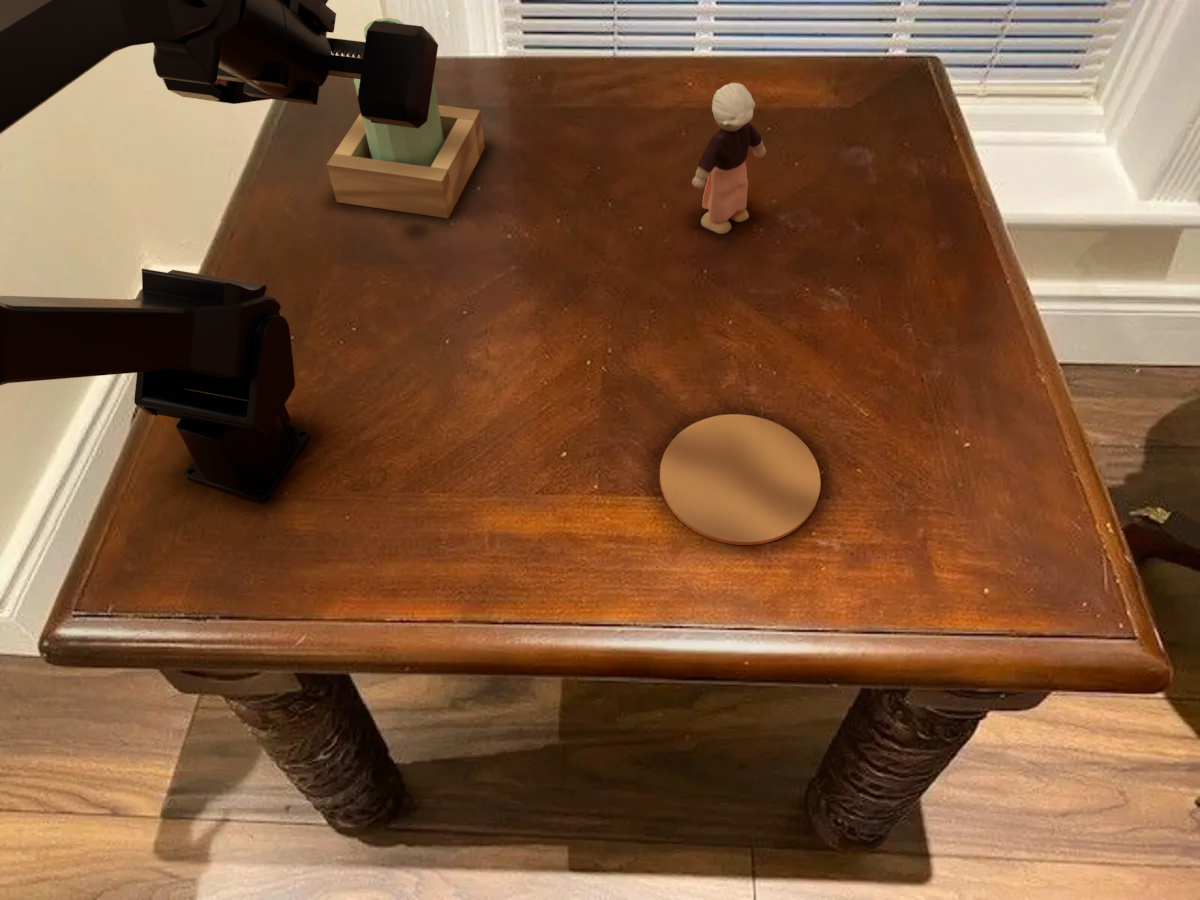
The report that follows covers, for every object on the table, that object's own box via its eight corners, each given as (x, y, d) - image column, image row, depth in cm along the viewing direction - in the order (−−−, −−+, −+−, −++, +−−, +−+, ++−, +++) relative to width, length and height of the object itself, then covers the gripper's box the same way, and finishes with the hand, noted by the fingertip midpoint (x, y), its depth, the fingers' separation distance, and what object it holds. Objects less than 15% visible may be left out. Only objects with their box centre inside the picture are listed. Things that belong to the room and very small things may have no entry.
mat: (798, 565, 67) (799, 562, 67) (637, 517, 69) (637, 514, 69) (835, 441, 73) (836, 437, 73) (687, 401, 76) (687, 397, 75)
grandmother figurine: (728, 189, 91) (741, 57, 81) (765, 206, 89) (782, 74, 79) (676, 234, 87) (682, 102, 77) (713, 253, 86) (725, 120, 76)
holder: (448, 218, 89) (442, 180, 86) (336, 202, 91) (326, 164, 88) (485, 147, 95) (480, 109, 92) (379, 133, 97) (371, 96, 94)
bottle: (428, 203, 91) (401, 56, 80) (364, 188, 92) (328, 42, 81) (459, 161, 94) (438, 15, 83) (397, 147, 96) (368, 2, 85)
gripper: (405, -97, 60) (482, -1, 76) (120, -125, 63) (249, -27, 79) (378, 96, 62) (459, 153, 77) (99, 60, 65) (231, 121, 80)
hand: (348, 95), depth 78 cm, fingers open, 9 cm apart
